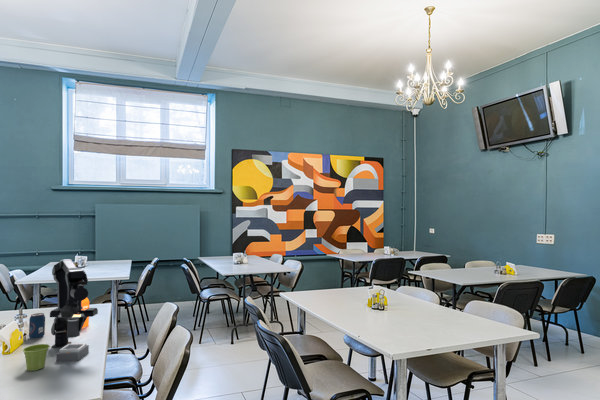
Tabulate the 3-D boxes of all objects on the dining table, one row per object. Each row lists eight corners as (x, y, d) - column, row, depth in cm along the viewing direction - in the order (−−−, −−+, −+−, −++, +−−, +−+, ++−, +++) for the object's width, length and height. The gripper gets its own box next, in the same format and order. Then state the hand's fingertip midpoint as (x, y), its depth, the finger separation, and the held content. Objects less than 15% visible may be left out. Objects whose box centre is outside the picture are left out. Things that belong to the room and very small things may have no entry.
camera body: (68, 353, 182) (68, 342, 182) (88, 352, 183) (88, 342, 183) (56, 361, 171) (56, 351, 171) (77, 361, 172) (78, 350, 172)
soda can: (25, 338, 203) (26, 315, 203) (39, 334, 209) (40, 312, 209) (33, 340, 200) (34, 316, 200) (47, 336, 206) (48, 313, 206)
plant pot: (19, 374, 158) (20, 352, 158) (25, 365, 166) (25, 345, 166) (46, 370, 161) (47, 349, 162) (50, 362, 170) (51, 342, 170)
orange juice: (88, 325, 227) (90, 291, 227) (78, 330, 218) (80, 294, 219) (76, 325, 227) (77, 290, 228) (65, 329, 219) (67, 293, 219)
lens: (70, 334, 180) (70, 316, 180) (81, 334, 180) (82, 316, 180) (64, 337, 174) (65, 319, 175) (76, 337, 175) (77, 319, 175)
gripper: (43, 301, 169) (42, 337, 168) (88, 300, 171) (87, 336, 170) (56, 295, 180) (55, 329, 179) (98, 295, 182) (97, 329, 181)
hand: (73, 331), depth 177 cm, fingers closed on lens, 5 cm apart
